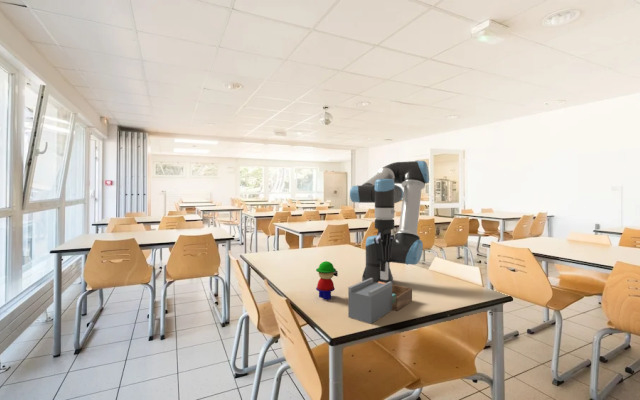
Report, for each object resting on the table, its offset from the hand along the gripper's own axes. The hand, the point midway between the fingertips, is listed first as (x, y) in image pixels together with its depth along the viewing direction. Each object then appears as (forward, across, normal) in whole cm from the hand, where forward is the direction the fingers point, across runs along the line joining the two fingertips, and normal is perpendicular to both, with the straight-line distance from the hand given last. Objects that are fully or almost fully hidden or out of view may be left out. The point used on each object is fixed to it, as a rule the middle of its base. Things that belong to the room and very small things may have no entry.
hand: (384, 279), depth 118 cm
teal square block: (+7, +3, 0) cm, 7 cm away
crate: (+10, +4, 0) cm, 11 cm away
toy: (+10, -6, +24) cm, 27 cm away
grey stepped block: (+10, -10, 0) cm, 15 cm away
